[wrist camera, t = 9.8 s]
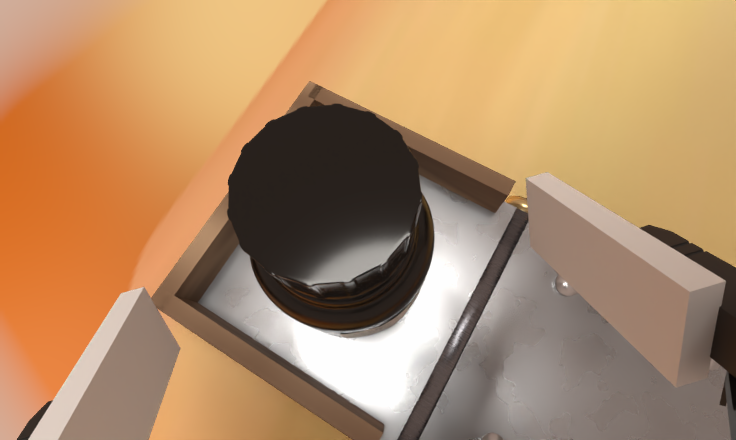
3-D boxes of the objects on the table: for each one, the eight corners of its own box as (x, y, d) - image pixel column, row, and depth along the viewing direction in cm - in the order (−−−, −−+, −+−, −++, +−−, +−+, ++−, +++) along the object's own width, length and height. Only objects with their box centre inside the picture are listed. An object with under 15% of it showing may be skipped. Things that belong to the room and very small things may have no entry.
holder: (317, 107, 30) (309, 80, 27) (502, 200, 27) (515, 181, 24) (174, 308, 26) (148, 302, 23) (374, 441, 23) (372, 453, 20)
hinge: (328, 117, 32) (323, 95, 29) (752, 330, 26) (793, 327, 23) (184, 325, 28) (163, 321, 25) (654, 639, 22) (691, 679, 19)
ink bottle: (387, 371, 24) (386, 382, 12) (251, 307, 25) (140, 266, 14) (447, 220, 26) (492, 116, 15) (321, 171, 28) (276, 41, 17)
